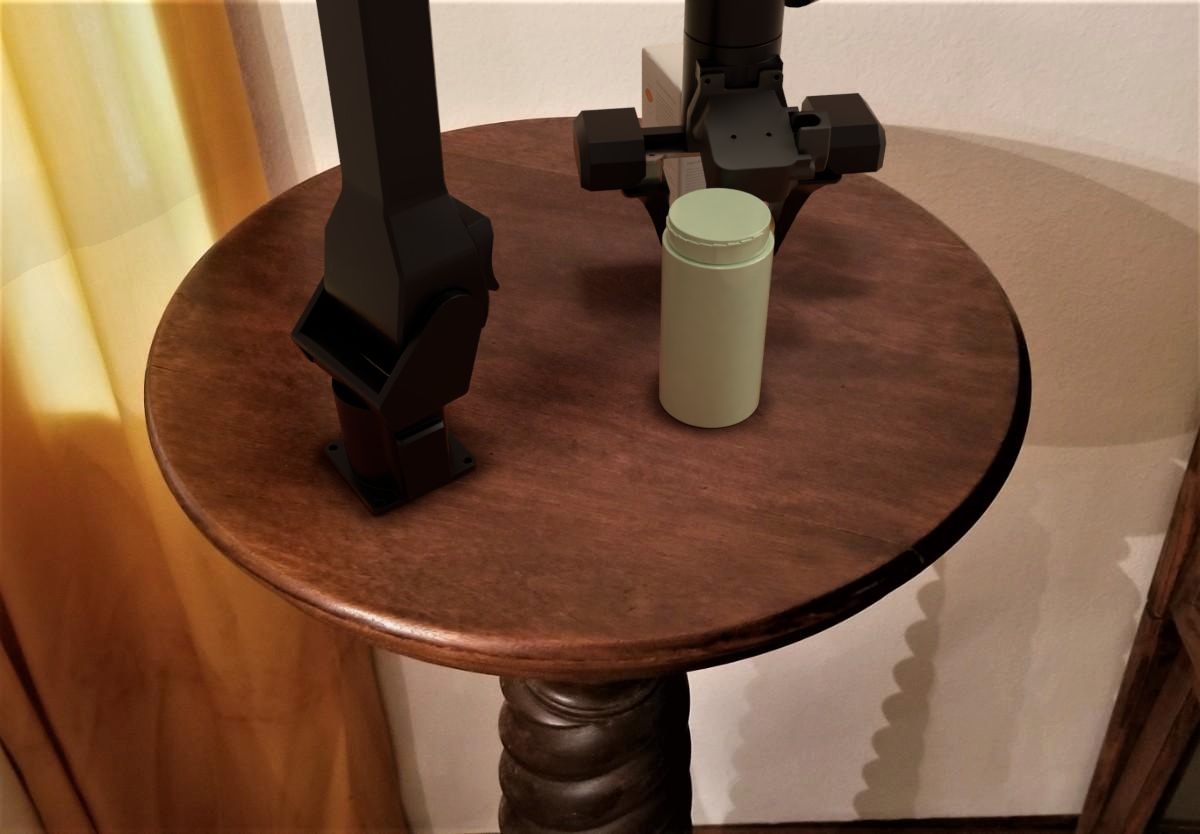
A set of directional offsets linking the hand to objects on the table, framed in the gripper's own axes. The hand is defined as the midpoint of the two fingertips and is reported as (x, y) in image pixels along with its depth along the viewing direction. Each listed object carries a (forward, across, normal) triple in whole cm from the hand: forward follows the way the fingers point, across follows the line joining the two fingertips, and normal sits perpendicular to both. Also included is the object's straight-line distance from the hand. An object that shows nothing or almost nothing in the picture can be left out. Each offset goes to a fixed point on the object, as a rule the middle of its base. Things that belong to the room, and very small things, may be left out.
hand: (719, 257), depth 77 cm
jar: (+2, -3, -12) cm, 12 cm away
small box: (+2, 0, +12) cm, 12 cm away
